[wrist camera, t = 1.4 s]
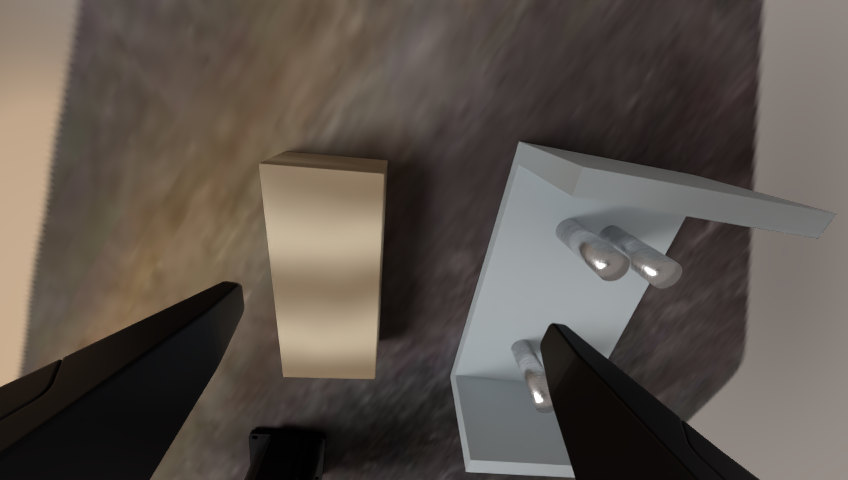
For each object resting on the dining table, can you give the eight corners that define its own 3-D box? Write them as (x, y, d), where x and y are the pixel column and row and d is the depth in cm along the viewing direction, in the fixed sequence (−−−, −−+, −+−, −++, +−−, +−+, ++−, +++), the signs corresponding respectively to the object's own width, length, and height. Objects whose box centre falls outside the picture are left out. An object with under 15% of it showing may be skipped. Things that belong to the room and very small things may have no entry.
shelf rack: (580, 388, 28) (636, 480, 22) (450, 376, 27) (466, 471, 20) (693, 174, 21) (836, 213, 14) (519, 141, 19) (583, 166, 12)
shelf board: (378, 337, 25) (374, 378, 22) (301, 335, 25) (283, 376, 21) (387, 159, 19) (384, 173, 16) (286, 150, 19) (258, 163, 15)
